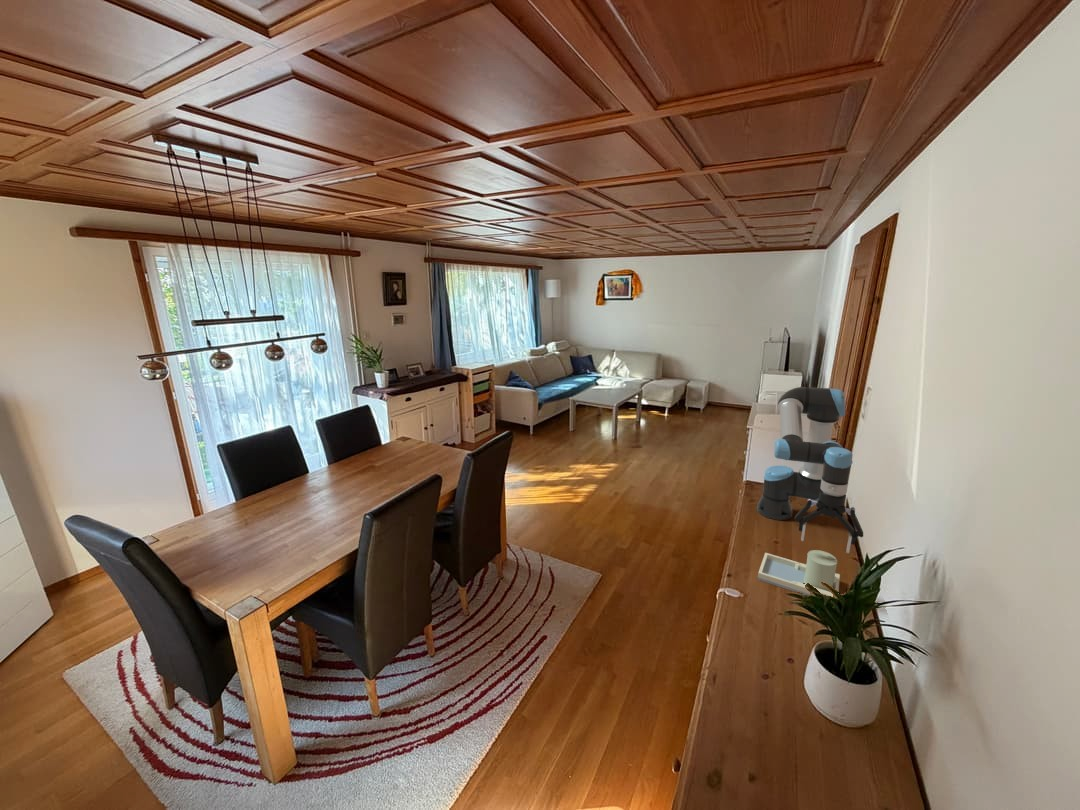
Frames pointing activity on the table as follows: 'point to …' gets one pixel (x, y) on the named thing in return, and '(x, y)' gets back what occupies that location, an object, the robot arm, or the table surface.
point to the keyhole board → (788, 574)
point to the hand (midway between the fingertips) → (824, 545)
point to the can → (820, 569)
